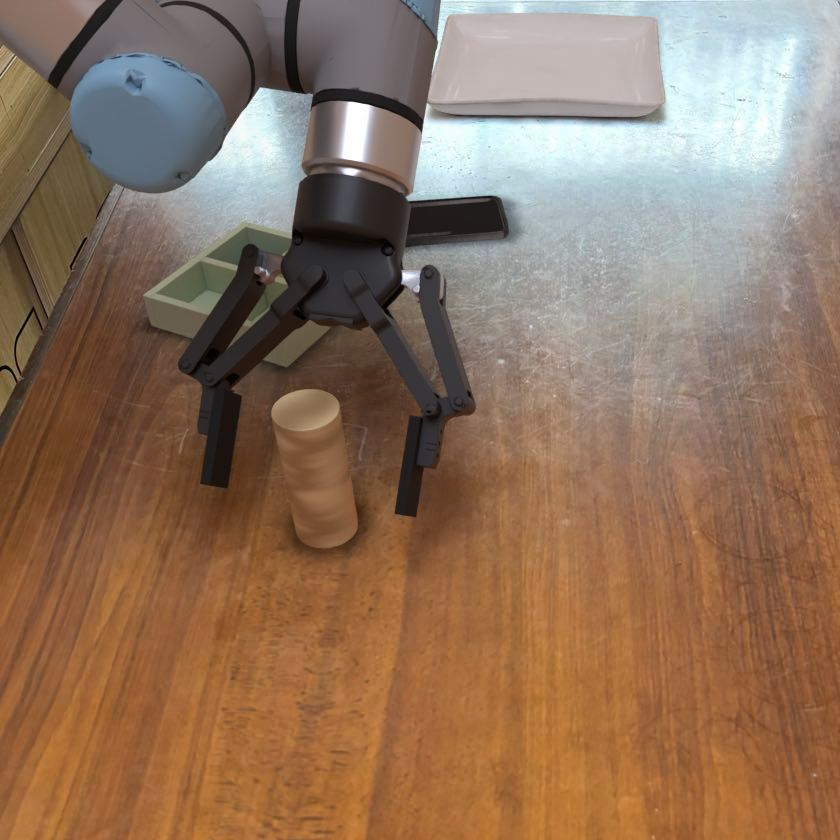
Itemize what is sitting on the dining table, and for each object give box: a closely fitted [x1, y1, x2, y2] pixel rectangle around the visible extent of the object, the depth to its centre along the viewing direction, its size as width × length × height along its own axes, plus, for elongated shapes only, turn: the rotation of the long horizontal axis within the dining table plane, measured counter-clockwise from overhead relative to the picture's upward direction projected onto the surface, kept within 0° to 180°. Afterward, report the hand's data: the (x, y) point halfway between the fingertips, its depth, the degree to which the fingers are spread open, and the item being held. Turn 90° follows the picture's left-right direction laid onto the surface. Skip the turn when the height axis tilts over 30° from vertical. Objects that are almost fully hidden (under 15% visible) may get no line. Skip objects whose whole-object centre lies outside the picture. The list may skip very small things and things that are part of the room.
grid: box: [142, 221, 333, 368], centre depth 98 cm, size 14×14×4 cm
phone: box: [405, 194, 510, 248], centre depth 109 cm, size 8×1×15 cm
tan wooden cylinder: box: [270, 388, 359, 549], centre depth 75 cm, size 4×4×11 cm
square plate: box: [427, 12, 667, 118], centre depth 135 cm, size 27×27×4 cm
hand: (308, 501), depth 74 cm, fingers open, 13 cm apart
